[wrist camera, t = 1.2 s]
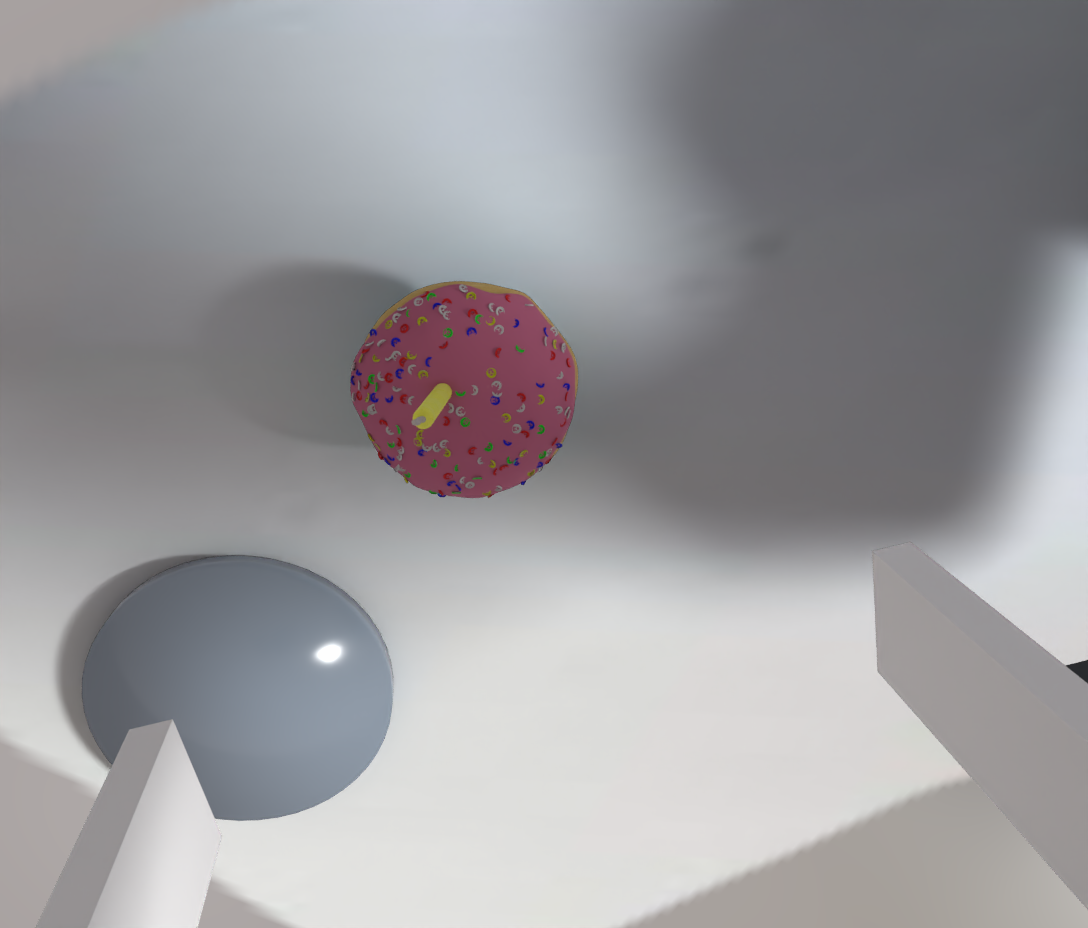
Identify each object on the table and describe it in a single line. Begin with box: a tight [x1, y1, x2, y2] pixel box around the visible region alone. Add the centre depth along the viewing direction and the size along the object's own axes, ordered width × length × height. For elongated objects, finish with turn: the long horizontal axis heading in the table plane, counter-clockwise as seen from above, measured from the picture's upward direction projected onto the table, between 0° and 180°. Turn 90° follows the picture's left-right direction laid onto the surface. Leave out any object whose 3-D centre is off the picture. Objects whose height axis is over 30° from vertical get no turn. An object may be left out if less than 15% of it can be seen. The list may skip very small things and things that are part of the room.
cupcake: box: [351, 281, 578, 498], centre depth 32 cm, size 9×8×12 cm
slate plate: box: [82, 556, 393, 821], centre depth 41 cm, size 14×14×1 cm
